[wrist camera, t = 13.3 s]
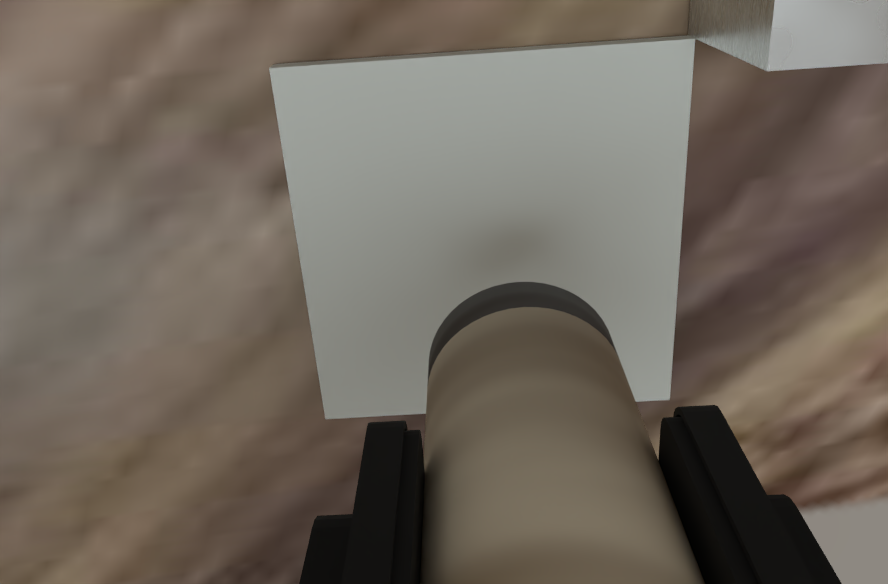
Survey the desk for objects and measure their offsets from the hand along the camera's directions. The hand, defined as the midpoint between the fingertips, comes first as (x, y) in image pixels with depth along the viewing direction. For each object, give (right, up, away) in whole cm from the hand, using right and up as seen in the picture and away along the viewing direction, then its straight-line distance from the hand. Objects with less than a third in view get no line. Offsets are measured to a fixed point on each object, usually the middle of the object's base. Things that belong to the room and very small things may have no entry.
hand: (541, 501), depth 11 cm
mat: (0, +4, +10) cm, 11 cm away
